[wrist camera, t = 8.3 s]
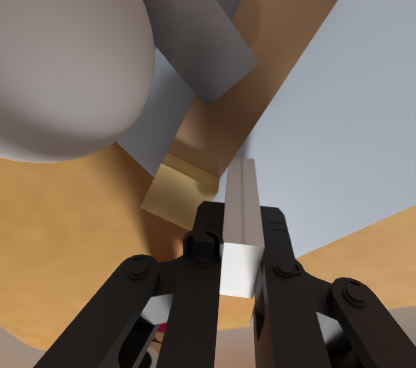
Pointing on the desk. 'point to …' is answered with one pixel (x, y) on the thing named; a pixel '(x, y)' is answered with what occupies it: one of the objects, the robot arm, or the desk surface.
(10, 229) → the desk surface
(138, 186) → the desk surface
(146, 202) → the link
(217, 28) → the keeper
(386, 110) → the board
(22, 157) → the lightbulb
